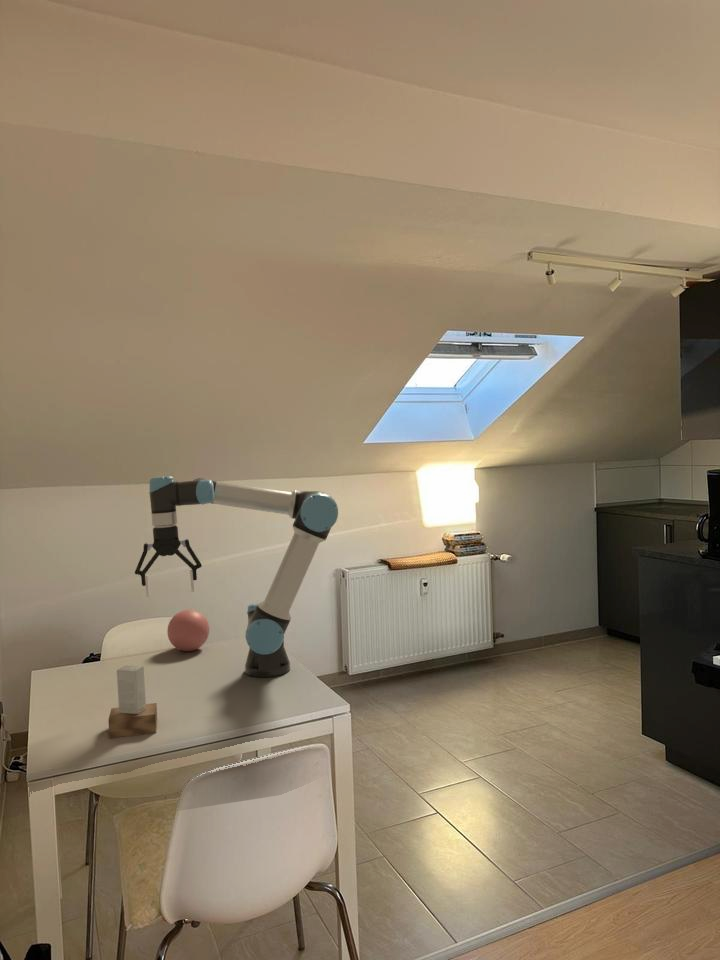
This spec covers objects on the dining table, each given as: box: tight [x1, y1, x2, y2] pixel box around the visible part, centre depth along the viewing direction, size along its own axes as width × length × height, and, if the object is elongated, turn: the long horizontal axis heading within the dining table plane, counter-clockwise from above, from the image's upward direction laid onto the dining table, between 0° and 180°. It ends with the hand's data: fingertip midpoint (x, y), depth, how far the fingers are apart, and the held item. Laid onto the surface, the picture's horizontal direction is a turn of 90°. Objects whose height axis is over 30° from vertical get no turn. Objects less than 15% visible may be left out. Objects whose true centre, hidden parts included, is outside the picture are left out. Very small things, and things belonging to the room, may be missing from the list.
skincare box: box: [116, 665, 147, 714], centre depth 197 cm, size 6×4×12 cm
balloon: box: [166, 609, 210, 652], centre depth 276 cm, size 15×20×15 cm
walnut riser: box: [108, 702, 158, 739], centre depth 198 cm, size 12×9×5 cm
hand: (170, 593), depth 227 cm, fingers open, 13 cm apart
